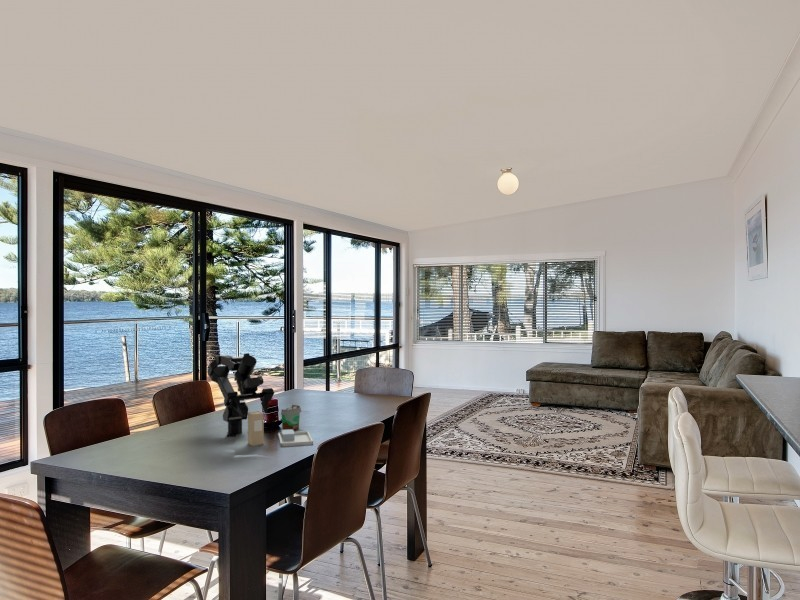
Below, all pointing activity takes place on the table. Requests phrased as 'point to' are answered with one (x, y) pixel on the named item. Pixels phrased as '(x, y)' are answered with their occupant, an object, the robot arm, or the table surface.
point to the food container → (291, 418)
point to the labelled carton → (255, 428)
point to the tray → (297, 439)
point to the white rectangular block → (288, 435)
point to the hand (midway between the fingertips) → (255, 414)
